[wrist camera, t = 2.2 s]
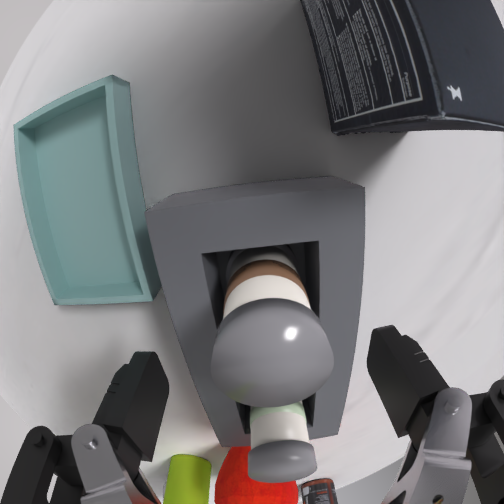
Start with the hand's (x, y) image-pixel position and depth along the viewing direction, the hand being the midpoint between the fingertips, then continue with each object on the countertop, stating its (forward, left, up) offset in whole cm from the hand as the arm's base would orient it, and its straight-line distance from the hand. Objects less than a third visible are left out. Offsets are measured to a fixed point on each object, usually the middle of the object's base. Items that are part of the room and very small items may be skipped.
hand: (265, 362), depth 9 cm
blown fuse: (0, 0, -8) cm, 8 cm away
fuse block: (+5, 0, -9) cm, 11 cm away
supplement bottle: (+45, +6, -10) cm, 46 cm away
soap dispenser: (+30, -13, -10) cm, 34 cm away
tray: (-6, -11, -9) cm, 16 cm away
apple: (+24, -3, -10) cm, 26 cm away
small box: (-13, +8, -10) cm, 18 cm away
